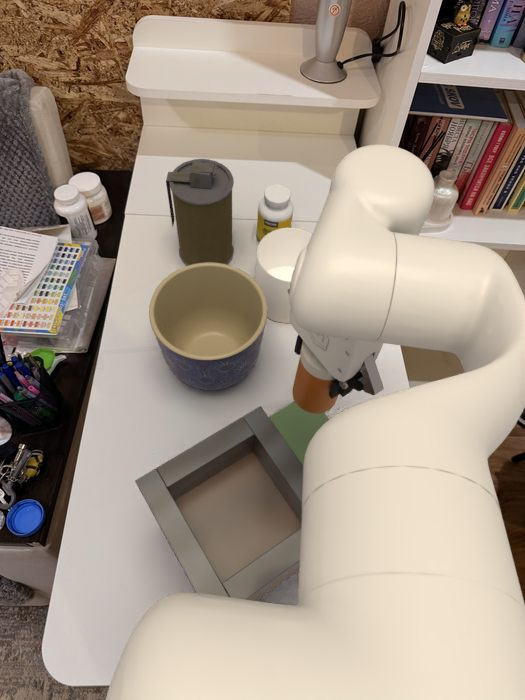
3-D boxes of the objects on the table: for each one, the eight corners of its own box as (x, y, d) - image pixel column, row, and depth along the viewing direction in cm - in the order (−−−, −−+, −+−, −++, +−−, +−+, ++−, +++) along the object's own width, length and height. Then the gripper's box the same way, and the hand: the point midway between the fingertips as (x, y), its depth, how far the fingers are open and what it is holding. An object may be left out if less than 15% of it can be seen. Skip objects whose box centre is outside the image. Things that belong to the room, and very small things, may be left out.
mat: (345, 442, 80) (346, 441, 80) (294, 476, 77) (294, 475, 77) (308, 393, 84) (308, 392, 84) (257, 424, 81) (257, 423, 81)
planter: (151, 397, 82) (136, 351, 69) (172, 311, 91) (162, 255, 78) (256, 411, 82) (260, 366, 69) (267, 323, 91) (273, 268, 77)
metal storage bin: (316, 557, 72) (346, 526, 53) (218, 629, 67) (213, 624, 48) (253, 463, 78) (260, 405, 59) (160, 522, 73) (134, 480, 54)
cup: (307, 331, 90) (317, 291, 80) (245, 312, 91) (246, 270, 81) (324, 281, 96) (335, 237, 86) (265, 264, 97) (269, 219, 87)
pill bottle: (252, 246, 99) (255, 202, 89) (260, 222, 102) (263, 177, 92) (285, 253, 99) (291, 209, 89) (292, 229, 102) (298, 184, 92)
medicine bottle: (347, 399, 68) (368, 355, 57) (309, 423, 66) (324, 382, 55) (319, 364, 70) (334, 316, 60) (282, 386, 68) (291, 340, 58)
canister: (236, 233, 101) (236, 148, 83) (230, 274, 96) (230, 193, 78) (181, 228, 101) (170, 142, 83) (172, 269, 95) (159, 187, 78)
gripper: (265, 232, 49) (257, 331, 64) (382, 369, 42) (342, 442, 58) (327, 203, 51) (305, 305, 67) (448, 328, 44) (392, 409, 60)
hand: (322, 368), depth 62 cm, fingers closed on medicine bottle, 6 cm apart
